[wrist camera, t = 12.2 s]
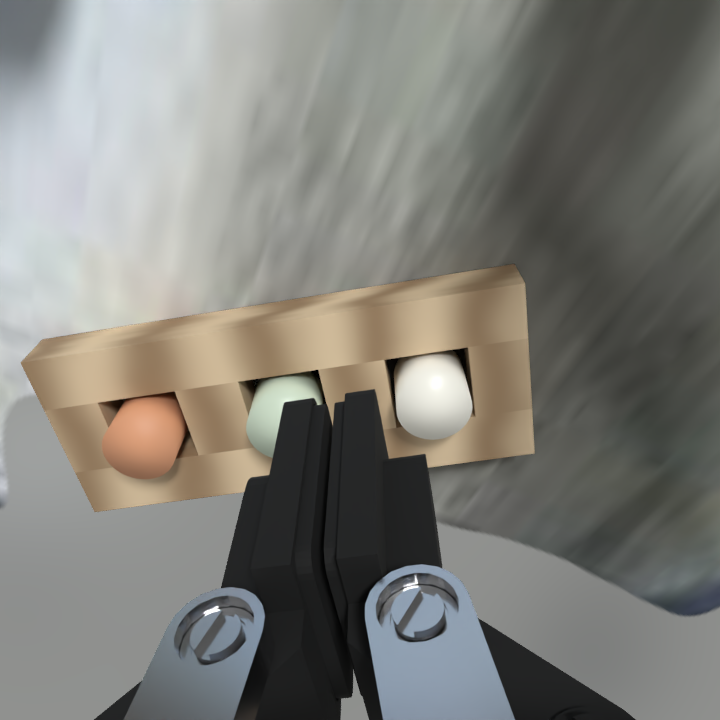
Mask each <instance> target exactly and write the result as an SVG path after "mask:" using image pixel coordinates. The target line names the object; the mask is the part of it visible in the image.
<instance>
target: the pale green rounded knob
mask: <svg viewBox="0 0 720 720" xmlns="http://www.w3.org/2000/svg"><path fill="white" fill-rule="evenodd" d="M309 398H314V399H315V400H316V402H317V405H322V404H323V403H324V391H323V387H322V384H321V382H320V381H319V379H318V378H317V377H316V376H315V375H314V374H313V373H312V372H310V371H306V372H300V373H293V374H286V375H280V376H273V377H266V378H260V380H259V381H258V384H257V387H256V391H255V394H254V398H253V402H252V405H251V409H250V412H249V416H248V420H247V424H246V432H247V436H248V438H249V440H250V442H251V443H252V445H253V446H254V447H255V448H256V449H257V450H258V451H259V452H261V453H262V454H264V455H266V456H268V457H271V458H273V454H274V449H275V444H276V439H277V434H278V429H279V424H280V419H281V414H282V409H283V405H284V403H285V402H289V401H295V400H302V399H309Z"/></svg>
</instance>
